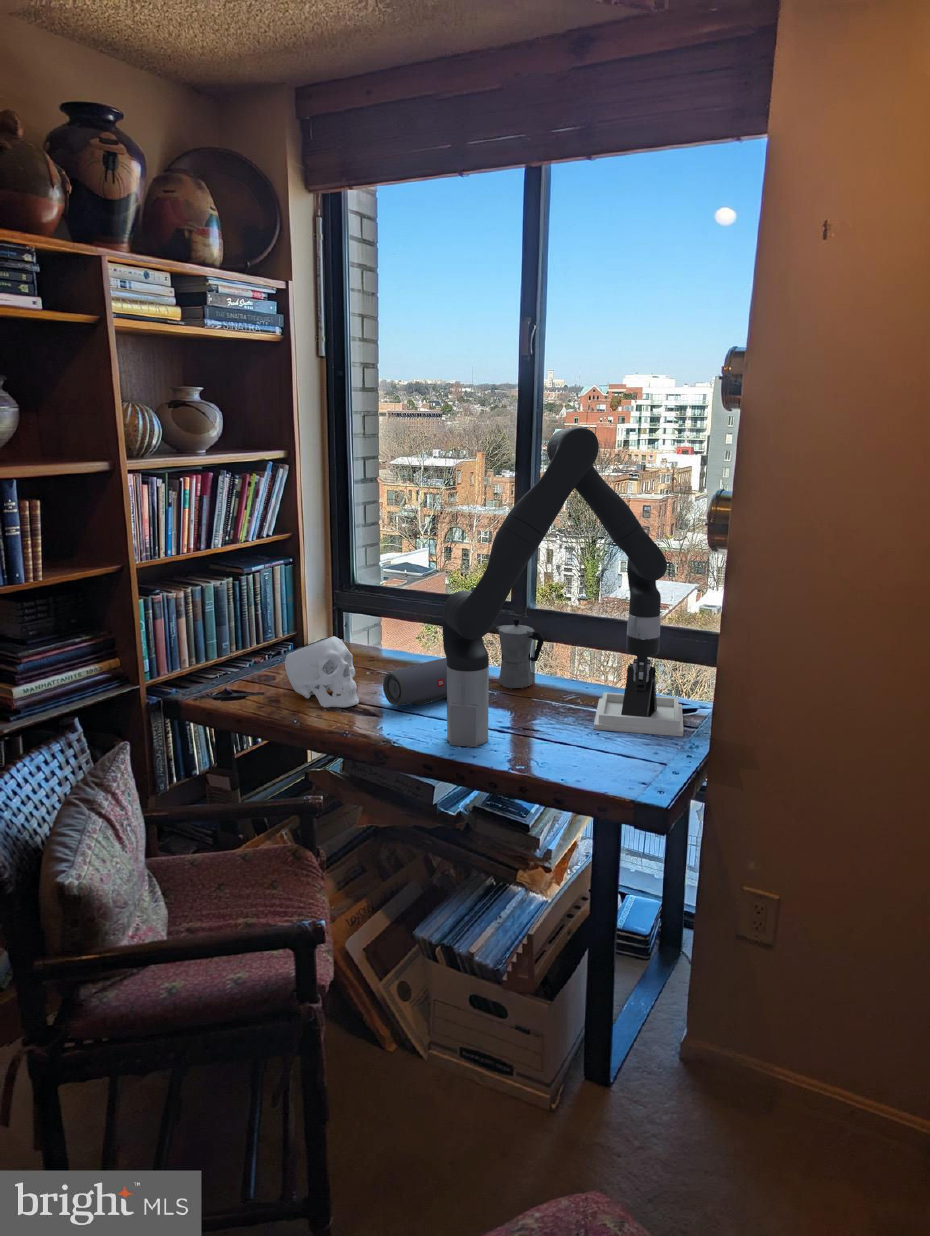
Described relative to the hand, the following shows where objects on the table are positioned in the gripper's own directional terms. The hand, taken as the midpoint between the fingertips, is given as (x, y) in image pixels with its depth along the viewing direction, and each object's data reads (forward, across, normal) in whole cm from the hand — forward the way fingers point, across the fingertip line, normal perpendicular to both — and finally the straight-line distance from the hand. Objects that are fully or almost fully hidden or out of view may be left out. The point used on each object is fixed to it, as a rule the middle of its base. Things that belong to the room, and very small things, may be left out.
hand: (639, 703), depth 199 cm
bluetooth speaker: (+4, -2, -52) cm, 52 cm away
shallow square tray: (+4, 0, 0) cm, 4 cm away
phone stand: (+3, 0, 0) cm, 3 cm away
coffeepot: (+4, -19, -32) cm, 37 cm away
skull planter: (+4, +3, -78) cm, 79 cm away
